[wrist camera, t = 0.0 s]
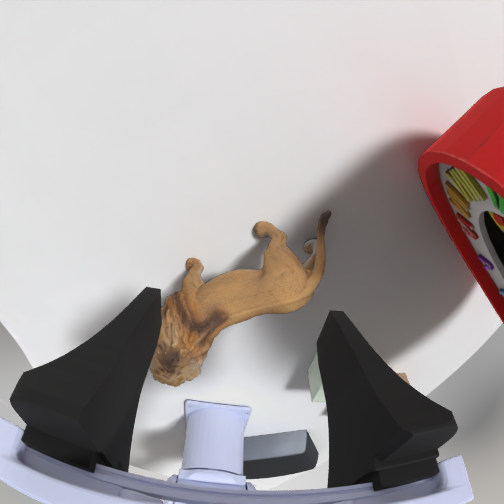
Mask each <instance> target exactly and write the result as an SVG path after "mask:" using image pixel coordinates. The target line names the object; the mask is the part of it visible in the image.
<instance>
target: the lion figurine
mask: <svg viewBox="0 0 504 504" xmlns="http://www.w3.org/2000/svg"><path fill="white" fill-rule="evenodd" d="M330 216H331V211H330V210H328V211H327V212H325V213H323V214H322V215H321V217H320V219H319V223H318V227H317V239H312V240H309V241H307V242H306V243H305V246H304V251H305V252H306V253H309V254H312V255H311V257H310V258H309V259H308V260H307V261H306V262H305V263H304V264H302V263H301V262H300V261H299V259H298V258H297V257H296V256H295V254H294V253H293V252H292V251H291V250H290V249H289V248H288V247H287V245H286V239H287V235H286V234H285V233H284V232H282V231H280V230H278V229H277V228H276V227H274V226H273V225H272V224H271V223H268V222H264V221H262V222H258V223H257V224H256V225H255V232H256V234H257V236H258V237H260V238H265V237H268V236H270V237H271V241H270V243H269V245H268V248H267V249H266V251H265V253H264V264H263V268H262V269H259V270H248V269H238V270H233V271H230V272H226V273H224V274H221V275H219V276H217V277H216V278H214V279H212V280H211V281H209V282H207V283H206V284H205V283H204V282H203V280H202V279H201V273H202V271H203V269H204V266H203V265H202V263H201V261H200V260H198V259H196V258H189V259H188V260H187V263H186V266H187V270H189V272H188V274H187V275H186V276H185V278H184V280H183V283H182V290H181V291H177V292H175V293H174V295H170V296H168V297H167V298H166V300H165V303H164V306H162V307H161V315H162V326H161V331H160V335H159V339H158V344H157V347H156V350H155V352H154V355H153V358H152V361H151V364H150V366H149V367H150V370H151V373H152V374H153V378H154V380H158V381H159V382H161V383H163V384H165V383H166V384H168V385H172V386H174V387H176V386H179V385H180V384H182V383H184V382H185V380H188V381H191V380H193V379H194V378H195V377H197V376H199V375H200V373H201V369H200V367H201V365H202V363H203V361H204V359H205V358H206V356H207V351H208V350H209V348H210V347H211V345H212V343H213V340H214V338H215V337H216V336H217V335H218V334H219V333H220V331H221V330H222V329H225V328H227V327H229V326H231V325H233V324H237V323H240V322H243V321H246V320H248V319H250V318H253V317H255V316H258V315H263V314H284V313H290V312H293V311H296V310H298V309H300V308H301V307H303V306H304V305H306V304H307V303H308V302H309V301H310V300H311V299H312V296H313V292H314V290H315V289H316V288H317V286H318V285H319V283H320V281H321V279H322V276H323V273H324V268H325V243H324V235H325V227H326V224H327V223H328V219H329V218H330Z"/></svg>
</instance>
